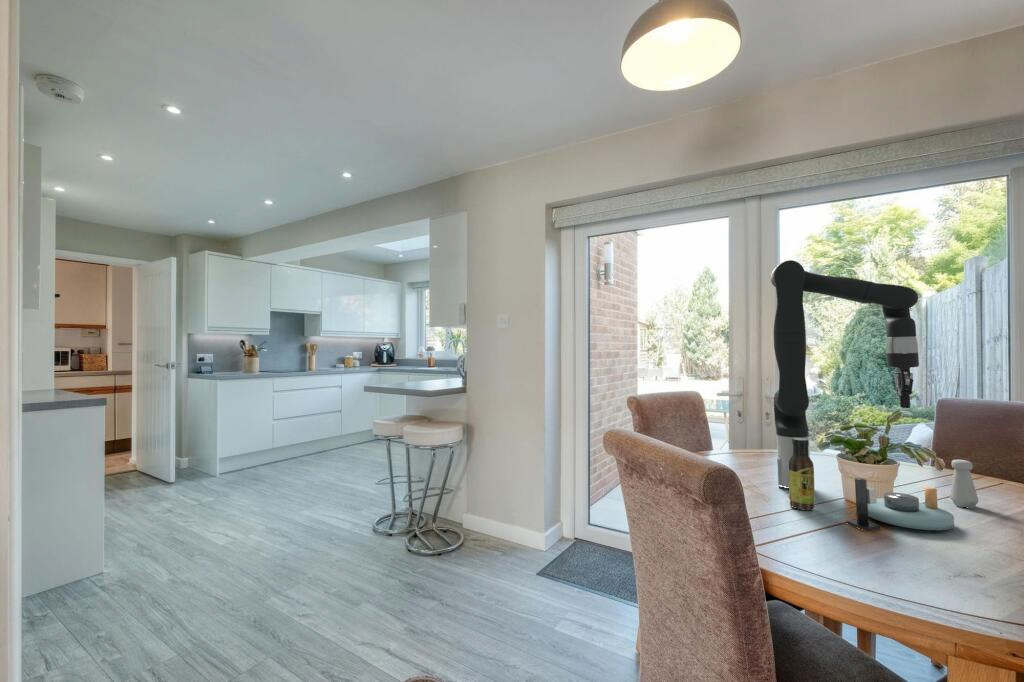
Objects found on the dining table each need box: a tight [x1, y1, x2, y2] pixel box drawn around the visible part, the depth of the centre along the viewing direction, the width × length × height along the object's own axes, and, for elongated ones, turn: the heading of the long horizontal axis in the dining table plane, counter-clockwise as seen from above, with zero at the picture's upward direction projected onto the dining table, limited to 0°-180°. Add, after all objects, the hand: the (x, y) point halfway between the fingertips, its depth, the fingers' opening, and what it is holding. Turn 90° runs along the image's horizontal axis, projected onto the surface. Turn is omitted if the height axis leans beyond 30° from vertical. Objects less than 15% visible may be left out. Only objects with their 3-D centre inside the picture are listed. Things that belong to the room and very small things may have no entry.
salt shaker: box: [949, 459, 979, 509], centre depth 129 cm, size 6×6×13 cm
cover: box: [883, 492, 920, 512], centre depth 120 cm, size 7×7×3 cm
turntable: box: [868, 486, 955, 531], centre depth 119 cm, size 18×18×7 cm
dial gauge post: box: [845, 477, 882, 531], centre depth 116 cm, size 6×5×12 cm
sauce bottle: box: [788, 438, 816, 511], centre depth 131 cm, size 6×6×20 cm
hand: (905, 407), depth 139 cm, fingers closed
